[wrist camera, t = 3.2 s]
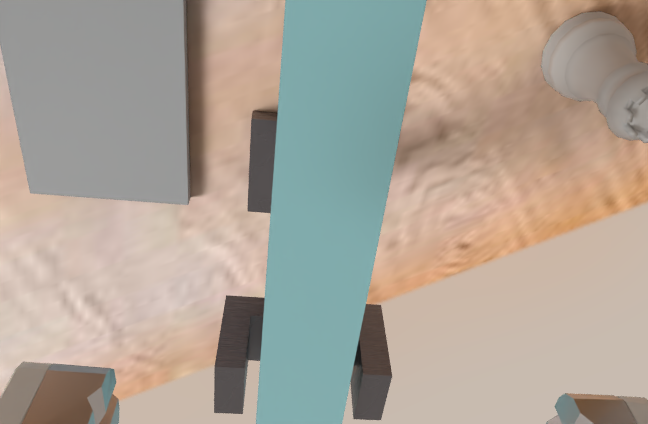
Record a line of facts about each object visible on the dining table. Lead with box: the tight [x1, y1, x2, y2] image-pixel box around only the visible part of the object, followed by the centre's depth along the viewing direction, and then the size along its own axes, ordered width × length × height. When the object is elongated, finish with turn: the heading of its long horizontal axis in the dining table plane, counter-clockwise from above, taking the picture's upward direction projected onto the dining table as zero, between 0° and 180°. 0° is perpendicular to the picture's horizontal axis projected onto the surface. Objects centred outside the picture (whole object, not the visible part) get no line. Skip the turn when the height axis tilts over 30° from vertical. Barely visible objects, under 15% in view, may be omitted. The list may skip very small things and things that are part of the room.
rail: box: [256, 0, 427, 424], centre depth 17 cm, size 20×3×3 cm, turn 174°
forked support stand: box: [214, 111, 392, 420], centre depth 23 cm, size 22×6×16 cm, turn 174°
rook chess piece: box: [541, 11, 648, 143], centre depth 28 cm, size 4×4×8 cm
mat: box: [0, 0, 190, 205], centre depth 28 cm, size 22×9×1 cm, turn 174°
